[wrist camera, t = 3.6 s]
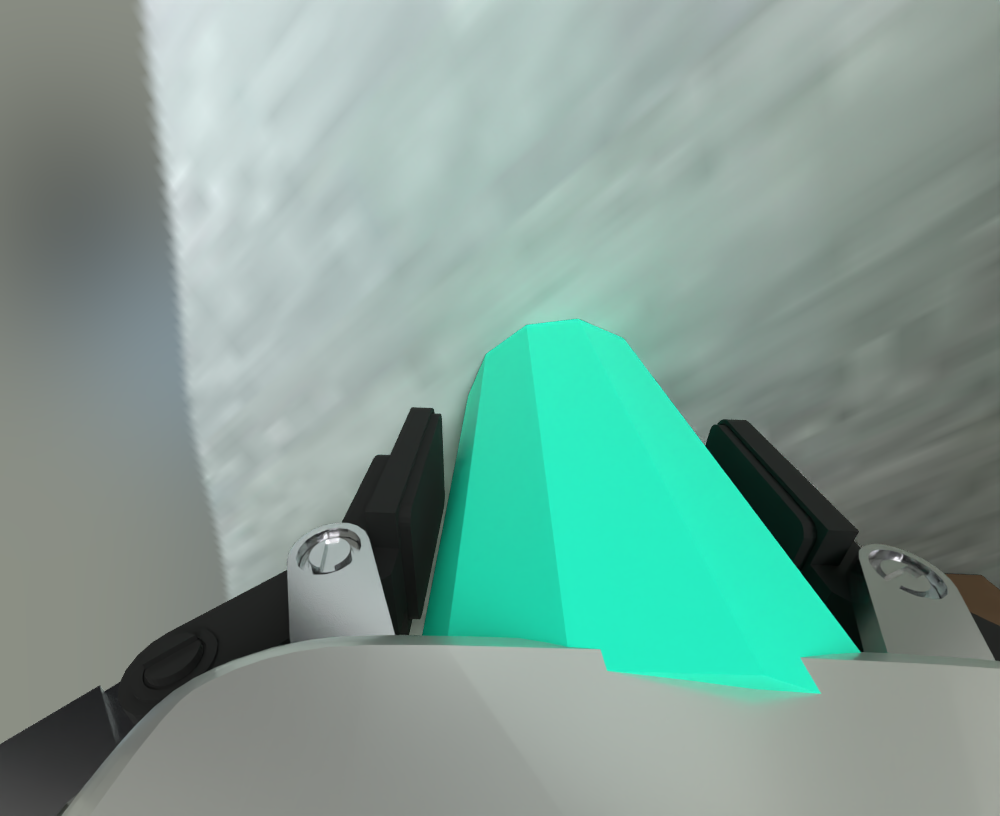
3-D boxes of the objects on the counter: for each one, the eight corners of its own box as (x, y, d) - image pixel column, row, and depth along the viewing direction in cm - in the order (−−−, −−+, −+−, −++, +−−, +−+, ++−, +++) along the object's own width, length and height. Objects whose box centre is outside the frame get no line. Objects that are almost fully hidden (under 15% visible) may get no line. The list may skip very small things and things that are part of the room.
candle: (460, 468, 15) (348, 1123, 5) (478, 304, 12) (301, 1004, 2) (622, 488, 15) (868, 1146, 5) (675, 332, 13) (1531, 1083, 2)
